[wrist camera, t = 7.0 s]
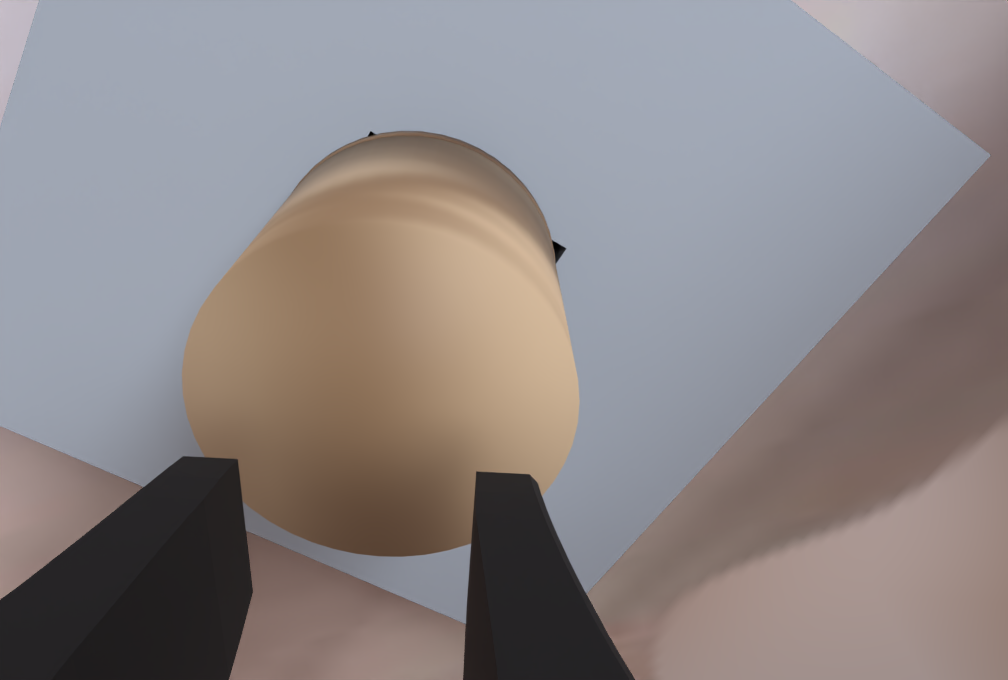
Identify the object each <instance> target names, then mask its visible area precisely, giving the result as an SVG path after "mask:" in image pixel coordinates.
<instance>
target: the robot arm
mask: <svg viewBox="0 0 1008 680" xmlns="http://www.w3.org/2000/svg"><path fill="white" fill-rule="evenodd" d="M252 593H253V589H252V580H251V571H250V562H249V554H248V545H247V536H246V527H245V518H244V509H243V500H242V491H241V483H240V474H239V465H238V459H229V458H210V457H191V456H183V457H181V458H180V459H179V460H177V461H176V462H175V463H173V464H172V465H171V466H169V467H168V468H167V469H166V470H164V471H163V472H162V473H161V474H159V475H158V476H157V477H156V478H154V479H153V480H152V481H151V482H149V483H148V484H147V485H146V486H145V487H143V488H142V489H141V490H140V491H138V492H137V493H136V494H135V495H133V496H132V497H131V498H130V499H128V500H127V501H126V502H125V503H124V504H122V505H121V506H120V507H119V508H117V509H116V510H115V511H114V512H112V513H111V514H110V515H109V516H107V517H106V518H105V519H104V520H102V521H101V522H100V523H99V524H97V525H96V526H95V527H94V528H92V529H91V530H90V531H89V532H88V533H86V534H85V535H84V536H82V537H81V538H80V539H79V540H77V541H76V542H75V543H74V544H72V545H71V546H70V547H68V548H67V549H66V550H65V551H63V552H62V553H61V554H60V555H58V556H57V557H56V558H54V559H53V560H52V561H51V562H49V563H48V564H47V565H46V566H44V567H43V568H42V569H40V570H39V571H38V572H37V573H35V574H34V575H33V576H31V577H30V578H29V579H28V580H26V581H25V582H24V583H22V584H21V585H20V586H18V587H17V588H16V589H14V590H13V591H12V592H10V593H9V594H8V595H6V596H5V597H3V598H2V599H1V600H0V680H229V677H230V673H231V670H232V666H233V663H234V659H235V656H236V652H237V649H238V645H239V642H240V638H241V635H242V631H243V627H244V623H245V619H246V616H247V612H248V608H249V604H250V601H251V597H252ZM463 680H635V679H634V677H633V675H632V674H631V672H630V671H629V669H628V667H627V666H626V664H625V663H624V661H623V659H622V657H621V656H620V654H619V652H618V650H617V649H616V647H615V645H614V644H613V642H612V640H611V638H610V637H609V635H608V633H607V631H606V630H605V628H604V626H603V624H602V622H601V620H600V618H599V617H598V615H597V613H596V611H595V609H594V607H593V605H592V604H591V602H590V600H589V598H588V596H587V594H586V592H585V591H584V589H583V587H582V585H581V583H580V581H579V579H578V577H577V575H576V573H575V571H574V569H573V567H572V565H571V563H570V561H569V559H568V557H567V554H566V552H565V550H564V548H563V546H562V544H561V541H560V539H559V537H558V535H557V533H556V530H555V528H554V526H553V523H552V521H551V518H550V516H549V513H548V511H547V508H546V506H545V503H544V500H543V497H542V495H541V492H540V488H539V485H538V483H537V482H536V480H535V479H534V478H533V477H532V476H531V475H530V474H516V473H497V472H478V471H476V482H475V496H474V510H473V524H472V538H471V552H470V566H469V580H468V594H467V611H466V632H465V653H464V675H463Z"/></svg>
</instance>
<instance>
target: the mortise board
mask: <svg viewBox="0 0 1008 680" xmlns="http://www.w3.org/2000/svg"><path fill="white" fill-rule="evenodd" d="M395 131H424V132H430V133H436V134H442V135H446V136H449V137H452V138H456V139H459V140H462V141H464V142H466V143H469V144H471V145H473V146H475V147H478V148H480V149H481V150H483V151H485V152H486V153H488V154H490V155H491V156H493V157H495V158H496V159H497V160H499V161H500V162H501V163H502V164H504V165H505V166H506V167H507V168H509V169H510V170H511V171H512V172H513V173H514V174H515V175H516V176H517V177H518V178H519V179H520V180H521V181H522V183H523V184H524V185H525V186H526V187H527V189H528V190H529V192H530V193H531V194H532V196H533V197H534V199H535V200H536V202H537V204H538V206H539V208H540V209H541V211H542V213H543V215H544V217H545V220H546V223H547V226H548V228H549V231H550V235H551V239H552V244H553V248H554V253H555V264H556V269H557V274H558V279H559V284H560V289H561V294H562V300H563V305H564V310H565V315H566V320H567V325H568V330H569V335H570V341H571V346H572V351H573V356H574V361H575V366H576V371H577V377H578V385H579V400H580V404H579V415H578V425H577V429H576V433H575V437H574V441H573V445H572V447H571V449H570V452H569V454H568V457H567V459H566V461H565V464H564V465H563V467H562V469H561V470H560V472H559V474H558V475H557V477H556V479H555V480H554V482H553V483H552V484H551V486H550V487H549V488H548V489H547V491H546V492H545V493H544V494H543V496H542V497H543V500H544V503H545V506H546V508H547V511H548V513H549V516H550V518H551V521H552V523H553V526H554V528H555V530H556V533H557V535H558V537H559V539H560V541H561V544H562V546H563V548H564V550H565V552H566V554H567V557H568V559H569V561H570V563H571V565H572V567H573V569H574V571H575V573H576V575H577V577H578V579H579V581H580V583H581V585H582V587H583V589H584V591H585V592H586V594H587V593H588V592H589V591H590V589H591V588H592V587H593V586H594V585H595V584H596V583H597V582H598V581H599V580H600V579H601V578H602V576H603V575H604V574H605V573H606V572H607V571H608V570H609V569H610V568H611V567H612V566H613V565H614V563H615V562H616V561H617V560H618V559H619V558H620V557H621V556H622V555H623V554H624V553H625V552H626V550H627V549H628V548H629V547H630V546H631V545H632V544H633V543H634V542H635V541H636V540H637V538H638V537H639V536H640V535H641V534H642V533H643V532H644V531H645V530H646V529H647V528H648V527H649V525H650V524H651V523H652V522H653V521H654V520H655V519H656V518H657V517H658V516H659V515H660V514H661V512H662V511H663V510H664V509H665V508H666V507H667V506H668V505H669V504H670V503H671V502H672V501H673V499H674V498H675V497H676V496H677V495H678V494H679V493H680V492H681V491H682V490H683V489H684V488H685V486H686V485H687V484H688V483H689V482H690V481H691V480H692V479H693V478H694V477H695V476H696V475H697V473H698V472H699V471H700V470H701V469H702V468H703V467H704V466H705V465H706V464H707V463H708V462H709V460H710V459H711V458H712V457H713V456H714V455H715V454H716V453H717V452H718V451H719V450H720V448H721V447H722V446H723V445H724V444H725V443H726V442H727V441H728V440H729V439H730V438H731V437H732V435H733V434H734V433H735V432H736V431H737V430H738V429H739V428H740V427H741V426H742V425H743V424H744V422H745V421H746V420H747V419H748V418H749V417H750V416H751V415H752V414H753V413H754V412H755V411H756V409H757V408H758V407H759V406H760V405H761V404H762V403H763V402H764V401H765V400H766V399H767V398H768V396H769V395H770V394H771V393H772V392H773V391H774V390H775V389H776V388H777V387H778V386H779V385H780V383H781V382H782V381H783V380H784V379H785V378H786V377H787V376H788V375H789V374H790V373H791V372H792V370H793V369H794V368H795V367H796V366H797V365H798V364H799V363H800V362H801V361H802V360H803V358H804V357H805V356H806V355H807V354H808V353H809V352H810V351H811V350H812V349H813V348H814V347H815V345H816V344H817V343H818V342H819V341H820V340H821V339H822V338H823V337H824V336H825V335H826V334H827V332H828V331H829V330H830V329H831V328H832V327H833V326H834V325H835V324H836V323H837V322H838V321H839V319H840V318H841V317H842V316H843V315H844V314H845V313H846V312H847V311H848V310H849V309H850V308H851V306H852V305H853V304H854V303H855V302H856V301H857V300H858V299H859V298H860V297H861V296H862V295H863V293H864V292H865V291H866V290H867V289H868V288H869V287H870V286H871V285H872V284H873V283H874V281H875V280H876V279H877V278H878V277H879V276H880V275H881V274H882V273H883V272H884V271H885V270H886V268H887V267H888V266H889V265H890V264H891V263H892V262H893V261H894V260H895V259H896V258H897V257H898V255H899V254H900V253H901V252H902V251H903V250H904V249H905V248H906V247H907V246H908V245H909V244H910V242H911V241H912V240H913V239H914V238H915V237H916V236H917V235H918V234H919V233H920V232H921V231H922V229H923V228H924V227H925V226H926V225H927V224H928V223H929V222H930V221H931V220H932V219H933V218H934V216H935V215H936V214H937V213H938V212H939V211H940V210H941V209H942V208H943V207H944V206H945V205H946V203H947V202H948V201H949V200H950V199H951V198H952V197H953V196H954V195H955V194H956V193H957V191H958V190H959V189H960V188H961V187H962V186H963V185H964V184H965V183H966V182H967V181H968V180H969V178H970V177H971V176H972V175H973V174H974V173H975V172H976V171H977V170H978V169H979V168H980V167H981V165H982V164H983V163H984V162H985V161H986V160H987V159H988V158H989V157H990V156H991V155H990V154H989V153H988V152H986V151H985V150H984V149H982V148H981V147H980V146H979V145H977V144H976V143H975V142H973V141H972V140H971V139H969V138H968V137H967V136H966V135H964V134H963V133H962V132H960V131H959V130H958V129H957V128H955V127H954V126H953V125H951V124H950V123H949V122H948V121H946V120H945V119H944V118H942V117H941V116H940V115H938V114H937V113H936V112H935V111H933V110H932V109H931V108H929V107H928V106H927V105H926V104H924V103H923V102H922V101H920V100H919V99H918V98H917V97H915V96H914V95H913V94H911V93H910V92H909V91H907V90H906V89H905V88H904V87H902V86H901V85H900V84H898V83H897V82H896V81H895V80H893V79H892V78H891V77H889V76H888V75H887V74H885V73H884V72H883V71H882V70H880V69H879V68H878V67H876V66H875V65H874V64H873V63H871V62H870V61H869V60H867V59H866V58H865V57H864V56H862V55H861V54H860V53H858V52H857V51H856V50H854V49H853V48H852V47H851V46H849V45H848V44H847V43H845V42H844V41H843V40H842V39H840V38H839V37H838V36H836V35H835V34H834V33H833V32H831V31H830V30H829V29H827V28H826V27H825V26H823V25H822V24H821V23H820V22H818V21H817V20H816V19H814V18H813V17H812V16H811V15H809V14H808V13H807V12H805V11H804V10H803V9H802V8H800V7H799V6H798V5H796V4H795V3H794V2H792V1H791V0H39V3H38V6H37V9H36V12H35V15H34V19H33V22H32V25H31V28H30V32H29V35H28V38H27V41H26V45H25V48H24V51H23V54H22V58H21V61H20V64H19V67H18V71H17V74H16V77H15V80H14V84H13V87H12V90H11V93H10V97H9V100H8V103H7V106H6V109H5V113H4V116H3V119H2V122H1V126H0V426H1V427H3V428H6V429H8V430H11V431H13V432H15V433H18V434H20V435H22V436H25V437H27V438H29V439H32V440H34V441H36V442H39V443H41V444H43V445H46V446H48V447H50V448H53V449H55V450H58V451H60V452H62V453H65V454H67V455H69V456H72V457H74V458H76V459H79V460H81V461H83V462H86V463H88V464H90V465H93V466H95V467H97V468H100V469H102V470H105V471H107V472H109V473H112V474H114V475H116V476H119V477H121V478H123V479H126V480H128V481H130V482H133V483H135V484H137V485H140V486H142V487H145V486H146V485H147V484H148V483H149V482H151V481H152V480H153V479H154V478H156V477H157V476H158V475H159V474H161V473H162V472H163V471H164V470H166V469H167V468H168V467H169V466H171V465H172V464H173V463H175V462H176V461H177V460H179V459H180V458H181V457H183V456H191V457H205V456H204V455H203V453H202V451H201V449H200V447H199V445H198V443H197V441H196V439H195V437H194V434H193V432H192V429H191V426H190V423H189V421H188V418H187V413H186V408H185V403H184V398H183V388H182V367H183V358H184V350H185V347H186V343H187V340H188V336H189V333H190V329H191V327H192V325H193V322H194V320H195V318H196V316H197V314H198V312H199V310H200V308H201V306H202V305H203V303H204V302H205V300H206V299H207V297H208V296H209V295H210V293H211V292H212V290H213V289H214V287H215V286H216V285H217V284H218V282H219V281H220V280H221V279H222V278H223V276H224V275H225V274H226V273H227V272H228V270H229V269H230V268H231V267H232V265H233V264H234V263H235V262H236V261H237V259H238V258H239V257H240V256H241V254H242V253H243V252H244V251H245V250H246V248H247V247H248V246H249V245H250V243H251V242H252V241H253V240H254V239H255V237H256V236H257V235H258V234H259V233H260V231H261V230H262V229H263V228H264V226H265V225H266V224H267V223H268V222H269V220H270V219H271V218H272V217H273V215H274V214H275V213H276V212H277V211H278V209H279V208H280V207H281V206H282V204H283V203H284V202H285V201H286V200H287V198H288V197H289V196H290V195H291V193H292V192H293V190H294V189H295V187H296V186H297V185H298V183H299V182H300V181H301V180H302V178H303V177H304V176H305V175H306V174H307V173H308V172H309V171H310V170H311V169H312V168H313V167H314V166H315V165H316V164H317V163H319V162H320V161H321V160H322V159H324V158H325V157H326V156H327V155H329V154H330V153H332V152H334V151H336V150H337V149H339V148H341V147H342V146H344V145H346V144H349V143H351V142H354V141H356V140H359V139H361V138H364V137H368V136H372V135H376V134H380V133H386V132H395ZM243 509H244V518H245V527H246V531H248V532H250V533H253V534H255V535H257V536H260V537H262V538H264V539H267V540H269V541H271V542H274V543H276V544H278V545H281V546H283V547H285V548H288V549H290V550H293V551H295V552H297V553H300V554H302V555H304V556H307V557H309V558H311V559H314V560H316V561H318V562H321V563H323V564H325V565H328V566H330V567H332V568H335V569H337V570H340V571H342V572H344V573H347V574H349V575H351V576H354V577H356V578H358V579H361V580H363V581H365V582H368V583H370V584H372V585H375V586H377V587H379V588H382V589H384V590H387V591H389V592H391V593H394V594H396V595H398V596H401V597H403V598H405V599H408V600H410V601H412V602H415V603H417V604H419V605H422V606H424V607H426V608H429V609H431V610H434V611H436V612H438V613H441V614H443V615H445V616H448V617H450V618H452V619H455V620H457V621H459V622H462V623H464V624H466V611H467V594H468V580H469V566H470V552H471V544H468V545H465V546H461V547H458V548H455V549H451V550H448V551H443V552H438V553H432V554H427V555H418V556H406V557H381V556H371V555H362V554H355V553H350V552H345V551H340V550H336V549H332V548H329V547H326V546H322V545H319V544H316V543H313V542H310V541H308V540H305V539H303V538H301V537H298V536H296V535H294V534H291V533H289V532H288V531H286V530H284V529H282V528H280V527H278V526H277V525H275V524H273V523H271V522H270V521H268V520H267V519H265V518H264V517H262V516H261V515H259V514H258V513H257V512H255V511H254V510H252V509H251V508H250V507H249V506H247V505H246V504H245V503H244V502H243Z"/></svg>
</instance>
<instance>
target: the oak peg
mask: <svg viewBox="0 0 1008 680" xmlns="http://www.w3.org/2000/svg"><path fill="white" fill-rule="evenodd" d="M182 388H183V398H184V403H185V408H186V413H187V418H188V421H189V423H190V426H191V429H192V432H193V434H194V437H195V439H196V441H197V443H198V445H199V447H200V449H201V451H202V453H203V455H204V456H205V457H210V458H229V459H238V465H239V474H240V483H241V491H242V500H243V502H244V503H245V504H246V505H247V506H249V507H250V508H251V509H252V510H254V511H255V512H257V513H258V514H259V515H261V516H262V517H264V518H265V519H267V520H268V521H270V522H271V523H273V524H275V525H277V526H278V527H280V528H282V529H284V530H286V531H288V532H289V533H291V534H294V535H296V536H298V537H301V538H303V539H305V540H308V541H310V542H313V543H316V544H319V545H322V546H326V547H329V548H332V549H336V550H340V551H345V552H350V553H355V554H362V555H371V556H381V557H406V556H418V555H427V554H432V553H438V552H443V551H448V550H451V549H455V548H458V547H461V546H465V545H468V544H471V538H472V524H473V510H474V496H475V482H476V471H478V472H497V473H516V474H530V475H531V476H532V477H533V478H534V479H535V480H536V482H537V483H538V485H539V488H540V492H541V495H542V496H543V494H544V493H545V492H546V491H547V489H548V488H549V487H550V486H551V484H552V483H553V482H554V480H555V479H556V477H557V475H558V474H559V472H560V470H561V469H562V467H563V465H564V464H565V461H566V459H567V457H568V454H569V452H570V449H571V447H572V445H573V441H574V437H575V433H576V429H577V425H578V415H579V404H580V400H579V385H578V377H577V371H576V366H575V361H574V356H573V351H572V346H571V341H570V335H569V330H568V325H567V320H566V315H565V310H564V305H563V300H562V294H561V289H560V284H559V279H558V274H557V269H556V264H555V253H554V248H553V244H552V239H551V235H550V231H549V228H548V226H547V223H546V220H545V217H544V215H543V213H542V211H541V209H540V208H539V206H538V204H537V202H536V200H535V199H534V197H533V196H532V194H531V193H530V192H529V190H528V189H527V187H526V186H525V185H524V184H523V183H522V181H521V180H520V179H519V178H518V177H517V176H516V175H515V174H514V173H513V172H512V171H511V170H510V169H509V168H507V167H506V166H505V165H504V164H502V163H501V162H500V161H499V160H497V159H496V158H495V157H493V156H491V155H490V154H488V153H486V152H485V151H483V150H481V149H480V148H478V147H475V146H473V145H471V144H469V143H466V142H464V141H462V140H459V139H456V138H452V137H449V136H446V135H442V134H436V133H430V132H424V131H395V132H386V133H380V134H376V135H372V136H368V137H364V138H361V139H359V140H356V141H354V142H351V143H349V144H346V145H344V146H342V147H341V148H339V149H337V150H336V151H334V152H332V153H330V154H329V155H327V156H326V157H325V158H324V159H322V160H321V161H320V162H319V163H317V164H316V165H315V166H314V167H313V168H312V169H311V170H310V171H309V172H308V173H307V174H306V175H305V176H304V177H303V178H302V180H301V181H300V182H299V183H298V185H297V186H296V187H295V189H294V190H293V192H292V193H291V195H290V196H289V197H288V198H287V200H286V201H285V202H284V203H283V204H282V206H281V207H280V208H279V209H278V211H277V212H276V213H275V214H274V215H273V217H272V218H271V219H270V220H269V222H268V223H267V224H266V225H265V226H264V228H263V229H262V230H261V231H260V233H259V234H258V235H257V236H256V237H255V239H254V240H253V241H252V242H251V243H250V245H249V246H248V247H247V248H246V250H245V251H244V252H243V253H242V254H241V256H240V257H239V258H238V259H237V261H236V262H235V263H234V264H233V265H232V267H231V268H230V269H229V270H228V272H227V273H226V274H225V275H224V276H223V278H222V279H221V280H220V281H219V282H218V284H217V285H216V286H215V287H214V289H213V290H212V292H211V293H210V295H209V296H208V297H207V299H206V300H205V302H204V303H203V305H202V306H201V308H200V310H199V312H198V314H197V316H196V318H195V320H194V322H193V325H192V327H191V329H190V333H189V336H188V340H187V343H186V347H185V350H184V358H183V367H182Z"/></svg>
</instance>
